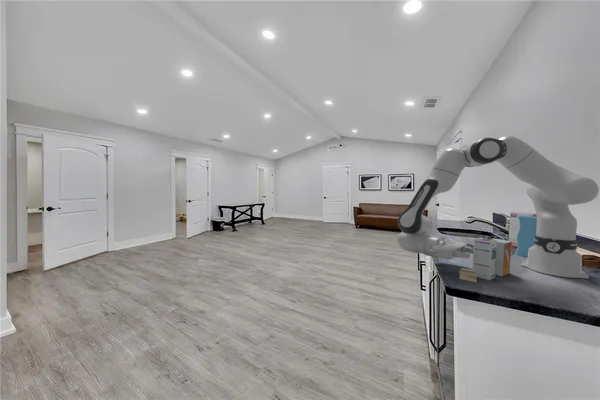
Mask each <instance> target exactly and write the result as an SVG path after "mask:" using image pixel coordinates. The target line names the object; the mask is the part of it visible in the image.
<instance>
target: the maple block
mask: <svg viewBox="0 0 600 400" xmlns="http://www.w3.org/2000/svg"><path fill="white" fill-rule="evenodd" d="M477 279H478V277H477V271H474V270H473V269H468V268H463V267H461V268H460V270H459V280H463V281H464V280H465V281H469V282H473V283H477Z"/></svg>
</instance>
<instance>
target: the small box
mask: <svg viewBox="0 0 600 400" xmlns="http://www.w3.org/2000/svg"><path fill="white" fill-rule="evenodd" d="M493 239H494V240H497V248H496V274H495V276H498V277H505V276H506V275H508V274H510V271H511V256H512V247H513V246H512V241H509V240H504V239H498V238H493Z"/></svg>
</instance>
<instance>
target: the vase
mask: <svg viewBox="0 0 600 400" xmlns="http://www.w3.org/2000/svg"><path fill="white" fill-rule="evenodd" d="M519 221H520V230H519V232H518V234H517V242H518V248H517V247H516V252H515V255H516V256H519V257H524V258H528V251H529V248H530V247H532V246H534V245H535V244H534V238H535V235H536V229H537V217H531V216H519Z"/></svg>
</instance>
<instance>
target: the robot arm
mask: <svg viewBox="0 0 600 400" xmlns="http://www.w3.org/2000/svg"><path fill="white" fill-rule="evenodd" d="M495 161H496V162H498V163H499V164H500V165H501V166H503V167H504V168H505V169H507V171H509V172H510V173H511V174H512V175H514V176H515V177H516V178H517V179H518V180H520V181H521V182H524V183H526V184H528V186H527V188H526V193H527V196H528V197H529V198H530V200H531V201H532V204H533V206H534V209H535V214H536V215H537V229H536V235H535V238H534V244H535V245H534V246H532V247H530V248H529V251H528V257H527V261H525V262H522V263H521V266H522V267H525V268H528V269H529V270H532V271H535V272H537V273H541V274H545V275H551V276H555V277H561V278H572V279H573V278H575V279H576V278H577V279H589V277H590V276H589V275H588V274H587V273H586V272H585V271H584V270H582V268H583V265H582V263H583V262H582V261H583V260H582V259H583V255H581V254H580V253H579V252H578V251H577V249H578V245H579V244H578V240H577V228H578V221H577V218H576V217H575V216H574V215H573V214H572V213H571V210H570V208H569V206H570V205H571V206H575V205H581V204H587V203H590V202H592V201H593V200H595V199H596V198H597V196H598V195H599V192H600V189H599V186H598V184H597V182H596V181H595V180H593V179H591V178H590V177H589V178H588V177H585V176H582V175H579V174H577V173H574V172H572V171H570V170H568V169H566V168H565V167H562V166H561V165H558V164H556V163H554V162H553V161H550V160H549V159H547V157H545V156H544V155H543V154H541V153H540V152H539V151H537V150H536V149H535V148H534V147H532V146H531V145H529V144H528V143H527V142H524V141H523V140H521V139H520V138H518V137H515V136H514V135H504V136H501V137H499V138H494V137H482V138H479V139H476V140H473V141H471V142H469V143H468V144H465V145H463V146H462V147H460V148H459V149H458V148H446V149H445V150H444V151H442V153H441V154H440V155H439V157H438V158H437V159H436V162H435V163H434V165H433V167H432V169H431V170H430V173H429V174H428V176H427V177H426V180H425V181H424V182H423V183H421V185H420V187H419V189H418V190H417V191H416V192H415V193H416V194H415V195H414V196H413V198H412V200H411V202H410V203H409V205H408V206H407V208H406V209H405V210H403V211H402V212H401V213H400V214H399V216H398V219H397V226H398V229H399V230H400V231H401V232H400V233H398V235H397V243H398V246H399V247H400V248H401V249H402V250H404V251H406V252H410V253H413V254H421V255H422V254H423V255H424V256H427V257H428V256H429V257H432V258H437V259H439V258H440V259H443V260H444V259H445V260H452V259H454V258H458V259H459V258H462V259H469V258H470V257H471V255H473V248H471V247H469V246H468V244H467V243H464V242H461V241H456V240H452V239H447V237H439V236H433V235H431V233H432V230H433V222H432V220H431V219H430V218H429V217H428V216H426V215H424V214H423V213H424V211H426V209H427V207H428V205H429V204H430V202H431V200H432V199H433V198H434V197H435V196H436V195H438V194H443V193H446V192H447V193H448V192H449V191H451V190H452V188H453V187H454V186H455V184H456V183H457V182H458V180H459V177H460V175H461V173H462V171H463V170H464V168H465V167H467V168H473V167H481V166H485V165H487V164H491V163H493V162H495ZM470 254H471V255H470Z"/></svg>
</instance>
